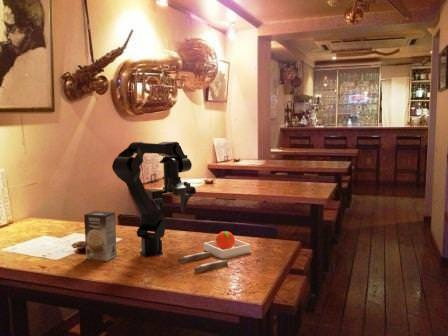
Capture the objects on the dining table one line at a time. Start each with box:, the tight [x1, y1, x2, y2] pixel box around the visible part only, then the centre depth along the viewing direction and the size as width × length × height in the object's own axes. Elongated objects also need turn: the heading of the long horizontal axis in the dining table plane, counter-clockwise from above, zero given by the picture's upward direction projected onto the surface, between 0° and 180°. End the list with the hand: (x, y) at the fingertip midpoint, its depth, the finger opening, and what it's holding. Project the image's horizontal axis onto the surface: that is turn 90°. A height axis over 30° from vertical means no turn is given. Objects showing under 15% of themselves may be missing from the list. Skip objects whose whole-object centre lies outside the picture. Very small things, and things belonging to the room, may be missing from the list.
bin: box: [203, 238, 251, 260], centre depth 147 cm, size 12×12×3 cm
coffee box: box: [83, 210, 118, 262], centre depth 142 cm, size 9×6×16 cm
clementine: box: [215, 230, 236, 250], centre depth 146 cm, size 8×7×7 cm
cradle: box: [177, 251, 228, 274], centre depth 134 cm, size 12×12×2 cm
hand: (172, 214), depth 157 cm, fingers open, 9 cm apart
